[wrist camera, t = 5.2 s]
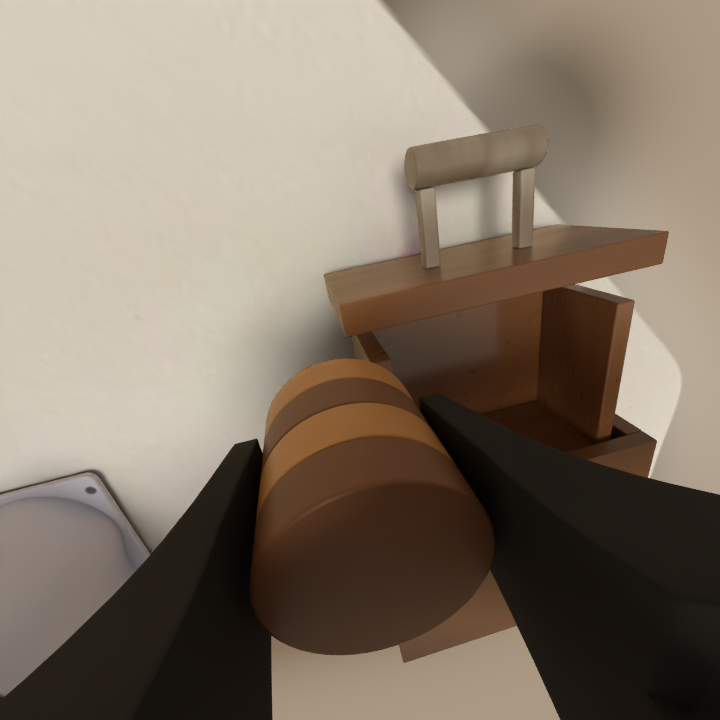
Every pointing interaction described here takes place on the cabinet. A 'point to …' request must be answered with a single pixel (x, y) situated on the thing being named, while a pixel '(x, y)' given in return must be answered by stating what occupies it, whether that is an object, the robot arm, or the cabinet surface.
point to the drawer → (501, 303)
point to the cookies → (360, 516)
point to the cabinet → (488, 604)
